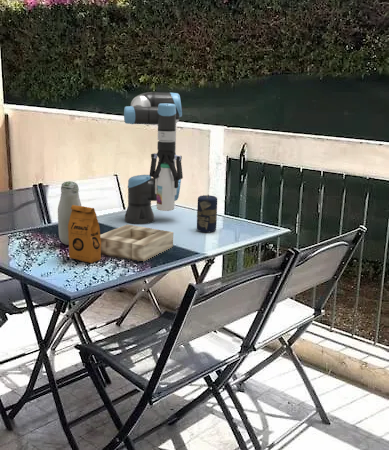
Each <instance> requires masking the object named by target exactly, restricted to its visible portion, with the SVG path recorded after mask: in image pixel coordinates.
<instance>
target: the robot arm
mask: <svg viewBox="0 0 389 450" xmlns="http://www.w3.org/2000/svg"><path fill="white" fill-rule="evenodd" d="M182 110H183V108H182V102H181V96H180V94H179V93H178V92H161V91H159V92H156V91H155V92H154V91H153V92H152V91H150V92H143V93H140V94H138V95H136V96H135V97H134V98H133V99H132V100H131V102H130V106H129V105H128V106H127V105H126V106H124V110H123V119H124V120H123V121H124V124H126V125H157V152H156V153H151V154H150V158H151V160H150V161H151V162H150V169H149V174H138V175H133V176H131V177H129V178H128V183H127V189H128V190H127V208H126V211H125V214H124V221H125V223H127V224H128V223H129V224H132V225H133V224H134V225H145V224H150V223H153V222H155V215H154V212H153V209H152V202H157V181H158V178H159V176H160V173H161V164H162V163H168V165H169V166H170V169H171V173H172V176H173V179H174V180H173V181H172V196H175V202H176V201H178V199H179V197H180V189H181V184H182V179H183V178H184V177H183V175H184V174H183V165H182V160H183V159H182V158H183V157H182V155H177V154H176V152H177V151H176V150H177V149H176V148H177V145H176V144H177V143H176V142H177V123H178V122H179V121H180V118H181V117H183V111H182ZM157 159H158V161H157Z"/></svg>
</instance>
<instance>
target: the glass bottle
mask: <svg viewBox="0 0 389 450" xmlns="http://www.w3.org/2000/svg"><path fill="white" fill-rule="evenodd" d="M79 192H80V191H79V185H78V183H77V182H75V181H64V182H62V184H61V186H60V197H59V198H60V200H59V202H58V207H57V224H58V225H57V226H58V237H59V238H58V239H59V240H60V242H61V243H62V244H63V245H67V246H69V239H68V223H69V219H70V215H71V212H72V209H71V206H72V205H76V206H82V202H81V199H80V194H79Z"/></svg>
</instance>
